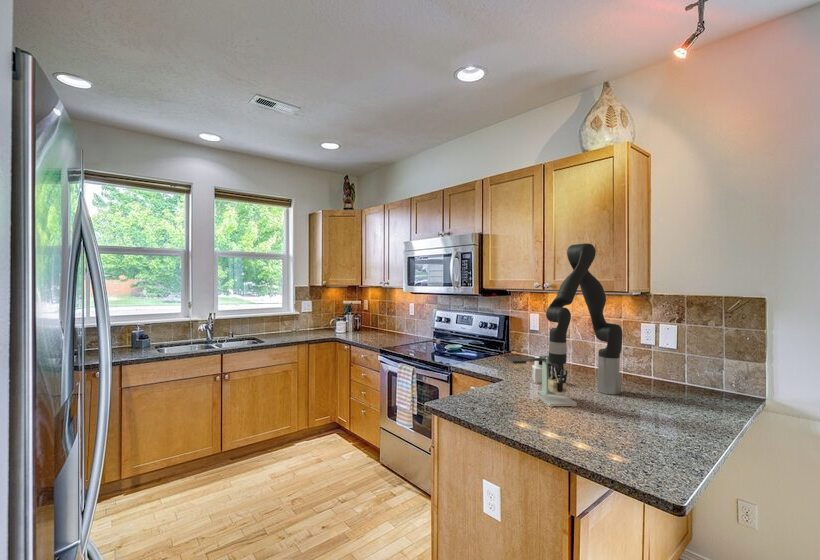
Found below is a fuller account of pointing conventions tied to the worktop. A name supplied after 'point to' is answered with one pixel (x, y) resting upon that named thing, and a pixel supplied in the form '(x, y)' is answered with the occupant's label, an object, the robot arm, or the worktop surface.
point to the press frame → (549, 396)
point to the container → (537, 371)
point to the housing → (555, 386)
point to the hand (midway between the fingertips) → (556, 389)
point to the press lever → (523, 359)
